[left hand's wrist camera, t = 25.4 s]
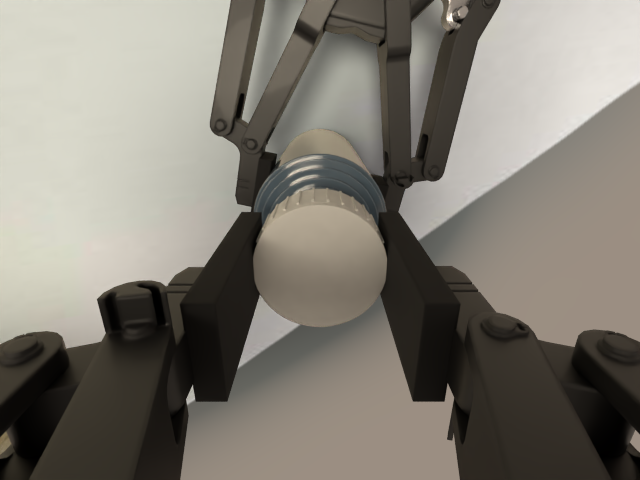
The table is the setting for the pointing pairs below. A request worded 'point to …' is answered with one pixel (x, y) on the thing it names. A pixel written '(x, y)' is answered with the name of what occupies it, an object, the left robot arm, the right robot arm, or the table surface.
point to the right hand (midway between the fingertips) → (304, 261)
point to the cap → (320, 258)
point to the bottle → (319, 173)
